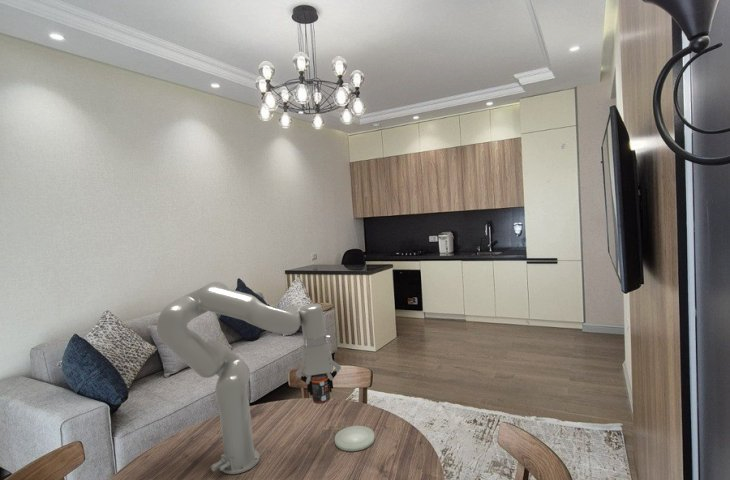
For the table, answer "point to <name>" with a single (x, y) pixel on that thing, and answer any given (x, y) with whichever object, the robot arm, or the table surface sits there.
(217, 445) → the table surface
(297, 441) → the table surface
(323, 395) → the supplement bottle
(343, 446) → the dish
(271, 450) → the table surface
